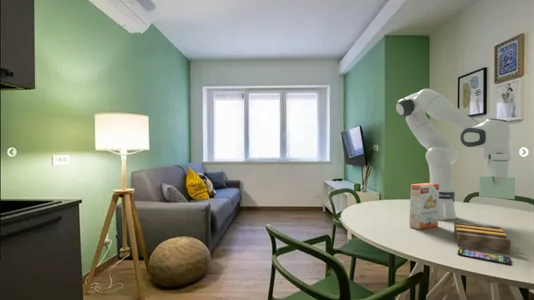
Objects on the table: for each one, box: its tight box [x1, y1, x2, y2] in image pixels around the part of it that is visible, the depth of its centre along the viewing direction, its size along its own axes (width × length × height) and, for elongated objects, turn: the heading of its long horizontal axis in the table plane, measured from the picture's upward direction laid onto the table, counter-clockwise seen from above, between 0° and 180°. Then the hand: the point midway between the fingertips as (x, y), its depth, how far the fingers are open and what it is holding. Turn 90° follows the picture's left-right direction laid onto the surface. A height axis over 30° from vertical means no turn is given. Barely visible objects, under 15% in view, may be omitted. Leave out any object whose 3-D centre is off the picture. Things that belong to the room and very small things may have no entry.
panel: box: [478, 175, 516, 200], centre depth 127 cm, size 12×2×9 cm, turn 61°
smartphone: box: [457, 247, 512, 266], centre depth 104 cm, size 8×1×15 cm
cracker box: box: [409, 182, 439, 231], centre depth 141 cm, size 14×6×21 cm, turn 118°
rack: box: [453, 221, 511, 255], centre depth 119 cm, size 16×20×5 cm
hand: (496, 187), depth 127 cm, fingers closed on panel, 2 cm apart
